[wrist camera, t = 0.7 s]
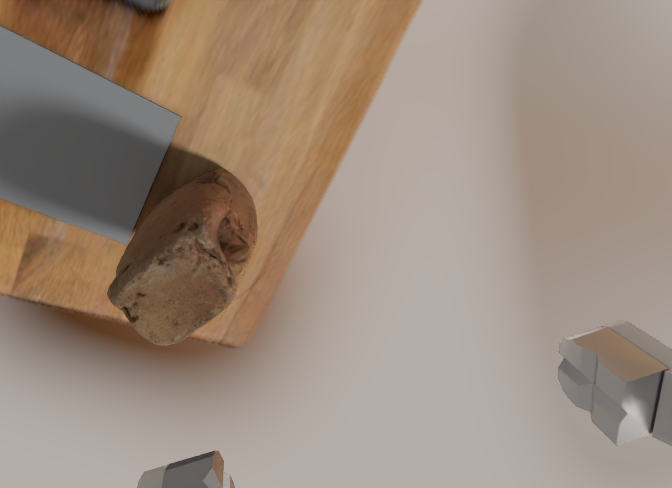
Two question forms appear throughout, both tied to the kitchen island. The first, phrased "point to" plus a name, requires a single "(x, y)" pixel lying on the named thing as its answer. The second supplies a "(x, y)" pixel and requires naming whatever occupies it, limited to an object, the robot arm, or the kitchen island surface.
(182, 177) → the kitchen island surface
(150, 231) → the block
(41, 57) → the mat
